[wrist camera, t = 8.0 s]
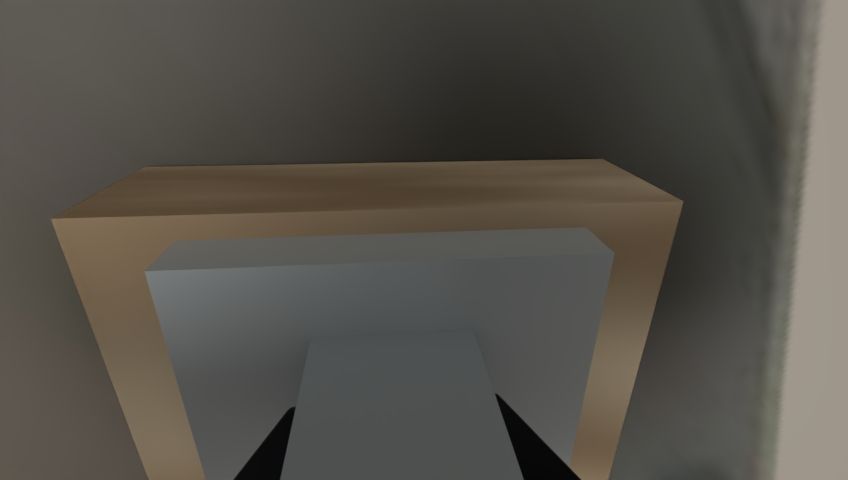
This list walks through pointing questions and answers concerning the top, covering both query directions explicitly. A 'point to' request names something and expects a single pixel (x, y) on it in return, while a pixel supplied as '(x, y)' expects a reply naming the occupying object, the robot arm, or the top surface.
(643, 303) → the birch box
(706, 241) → the top surface
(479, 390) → the lid
